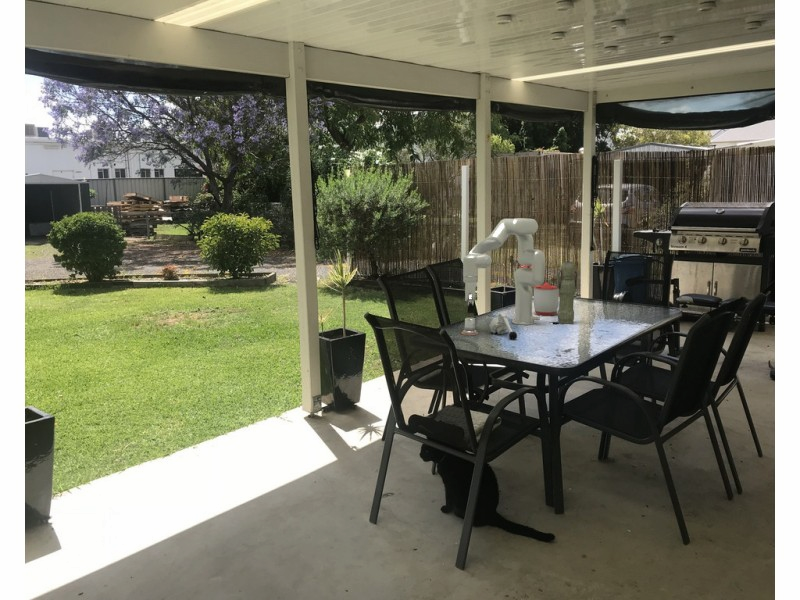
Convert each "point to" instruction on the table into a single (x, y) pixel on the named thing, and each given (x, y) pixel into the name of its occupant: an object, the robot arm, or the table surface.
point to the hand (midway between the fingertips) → (470, 310)
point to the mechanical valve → (502, 325)
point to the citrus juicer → (546, 299)
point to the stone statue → (566, 292)
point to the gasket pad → (469, 334)
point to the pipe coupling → (469, 326)
